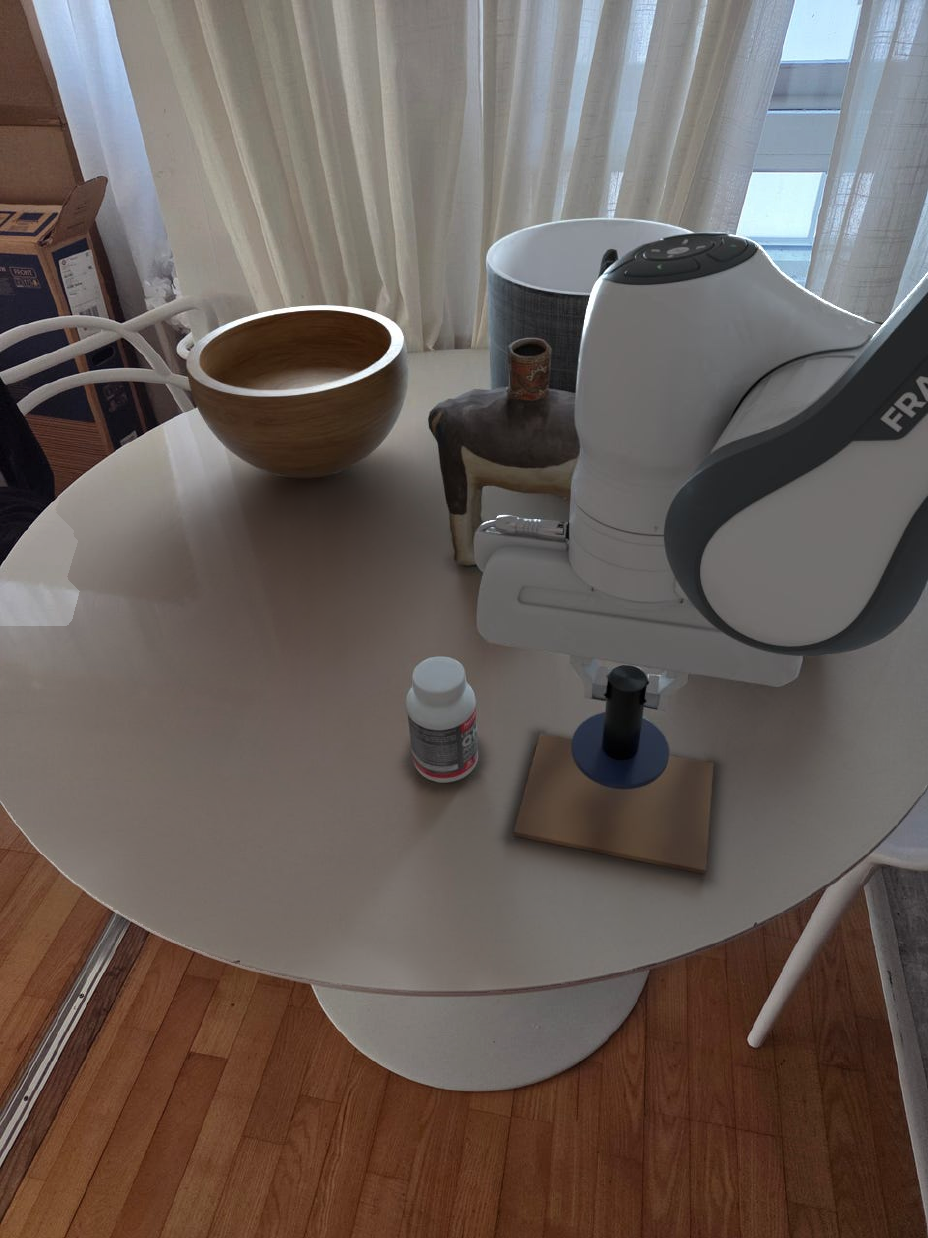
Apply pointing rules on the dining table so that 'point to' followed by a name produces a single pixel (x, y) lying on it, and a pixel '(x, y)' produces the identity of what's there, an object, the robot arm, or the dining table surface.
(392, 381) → the bowl
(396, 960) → the dining table surface
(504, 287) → the planter
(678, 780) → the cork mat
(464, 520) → the figurine
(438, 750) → the pill bottle
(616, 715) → the lid
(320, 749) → the dining table surface
